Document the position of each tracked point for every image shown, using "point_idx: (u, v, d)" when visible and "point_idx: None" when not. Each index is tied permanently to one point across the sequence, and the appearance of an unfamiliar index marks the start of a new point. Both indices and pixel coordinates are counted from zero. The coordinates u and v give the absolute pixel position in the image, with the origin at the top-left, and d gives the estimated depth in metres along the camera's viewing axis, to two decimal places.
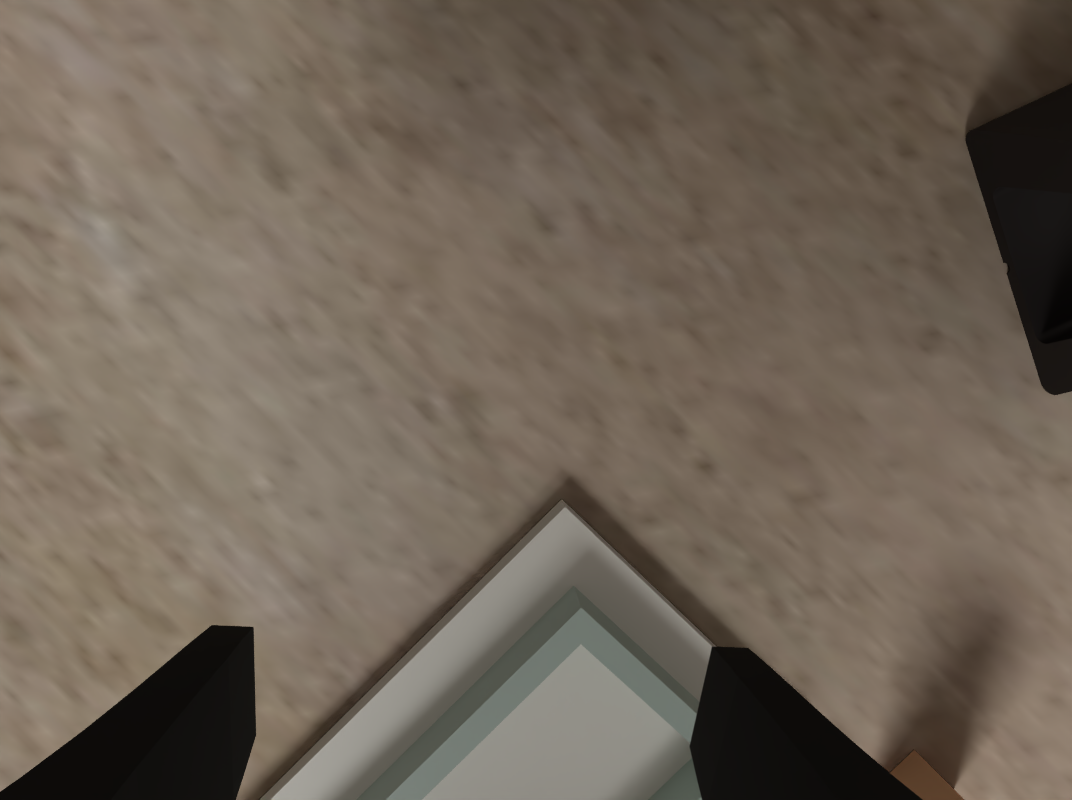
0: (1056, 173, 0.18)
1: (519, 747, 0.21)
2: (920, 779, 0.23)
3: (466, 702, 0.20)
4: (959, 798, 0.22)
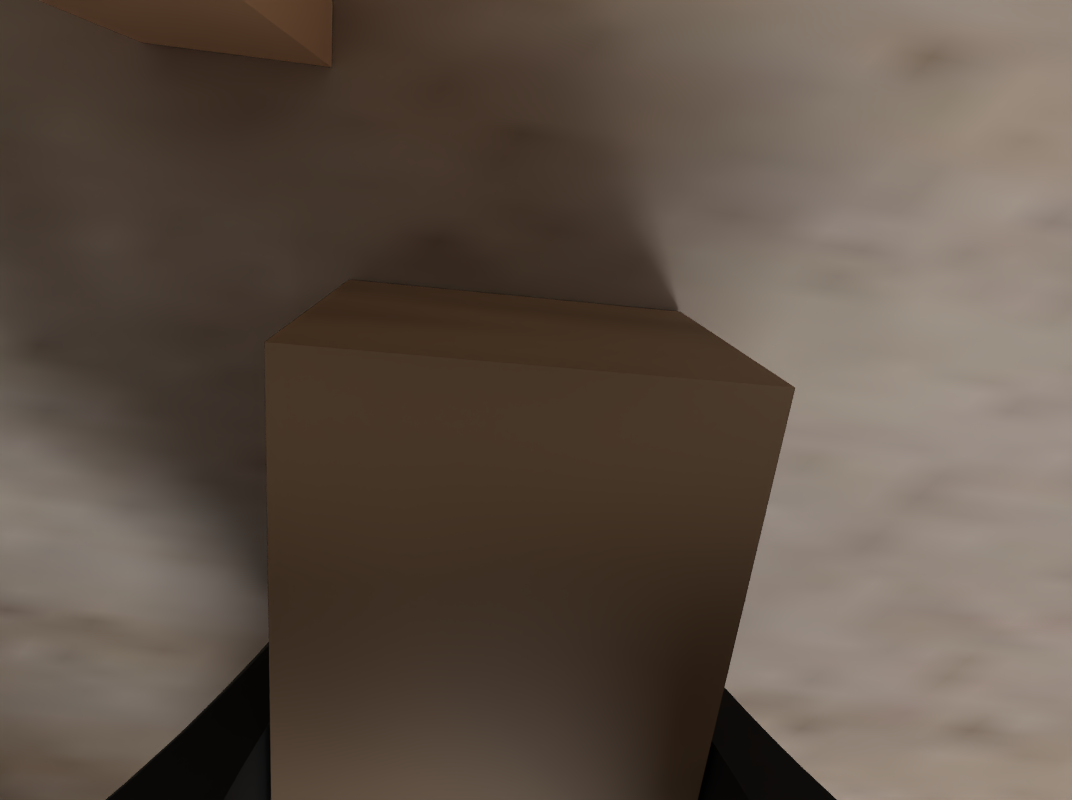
0: None
1: None
2: None
3: None
4: None
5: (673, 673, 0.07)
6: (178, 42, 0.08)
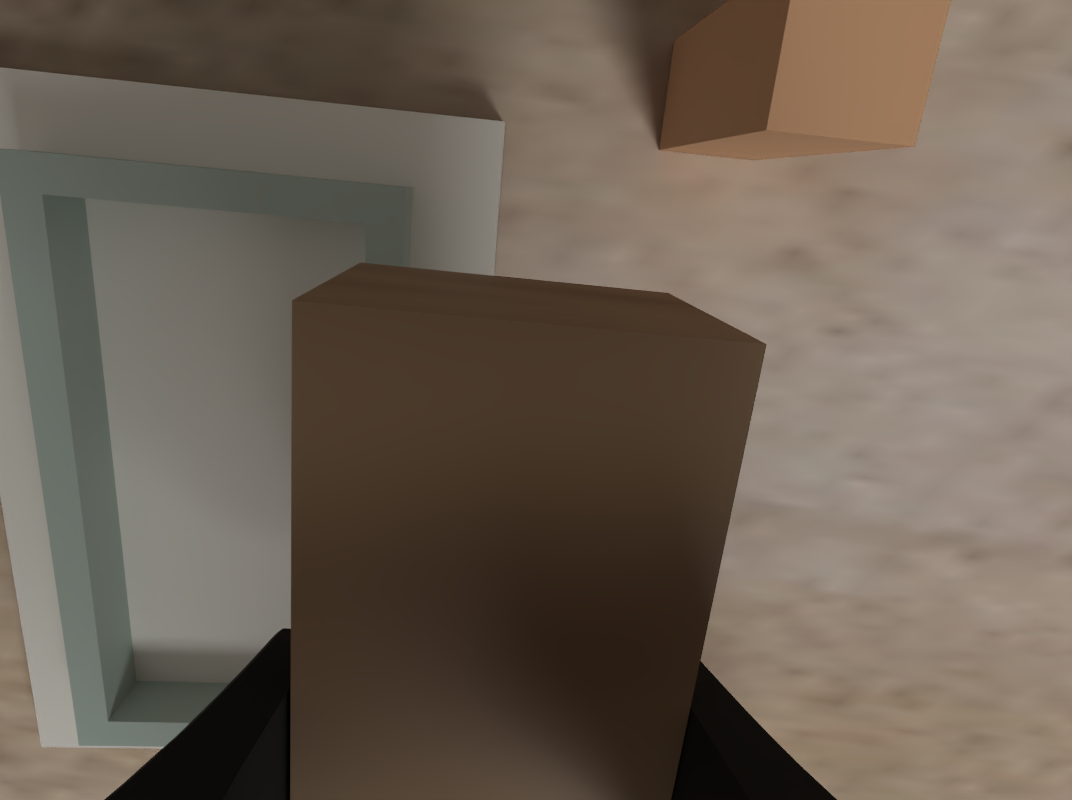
0: None
1: (183, 382, 0.16)
2: (682, 59, 0.15)
3: None
4: (704, 20, 0.13)
5: (660, 613, 0.08)
6: (689, 151, 0.16)
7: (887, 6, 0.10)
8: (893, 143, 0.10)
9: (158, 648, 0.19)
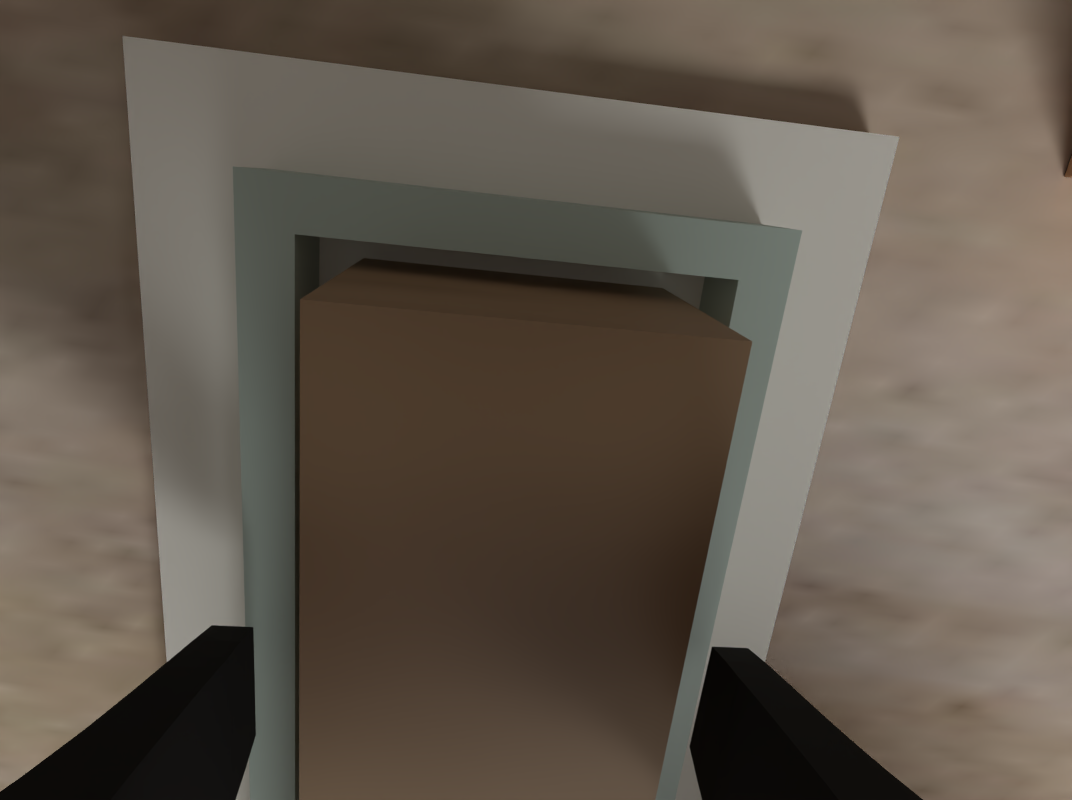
0: None
1: None
2: None
3: None
4: None
5: (651, 595, 0.09)
6: None
7: None
8: None
9: None
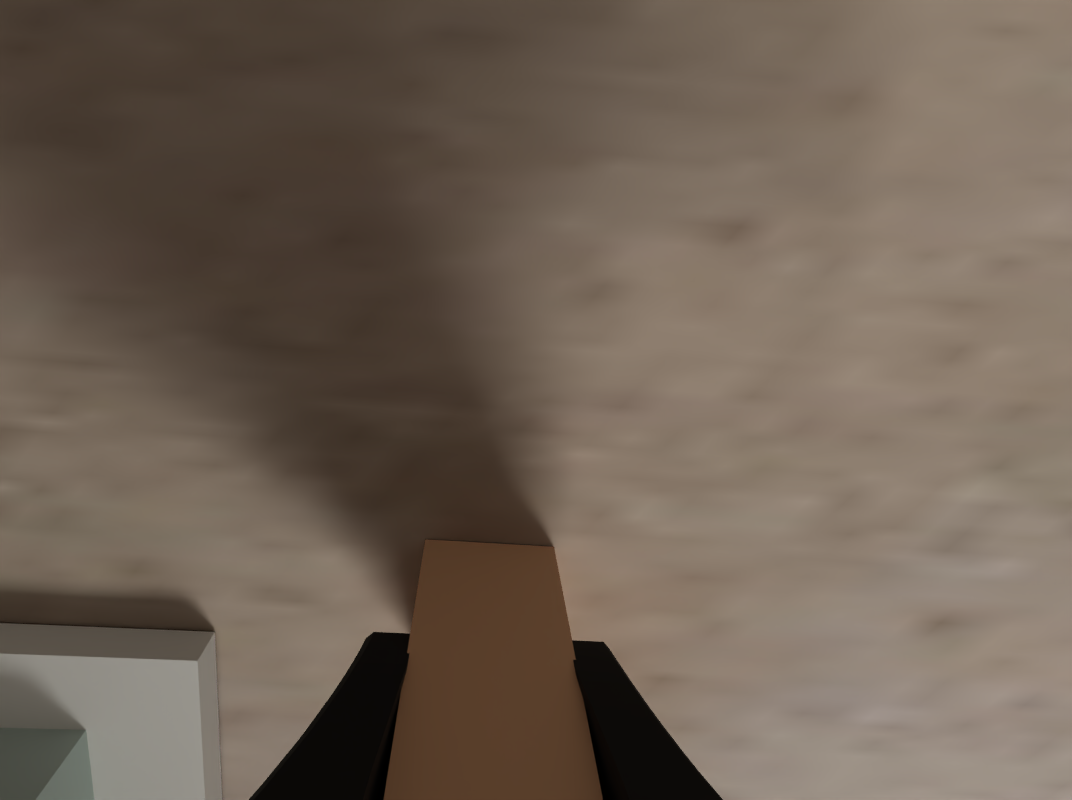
0: None
1: None
2: None
3: None
4: (412, 619, 0.10)
5: None
6: None
7: None
8: None
9: None
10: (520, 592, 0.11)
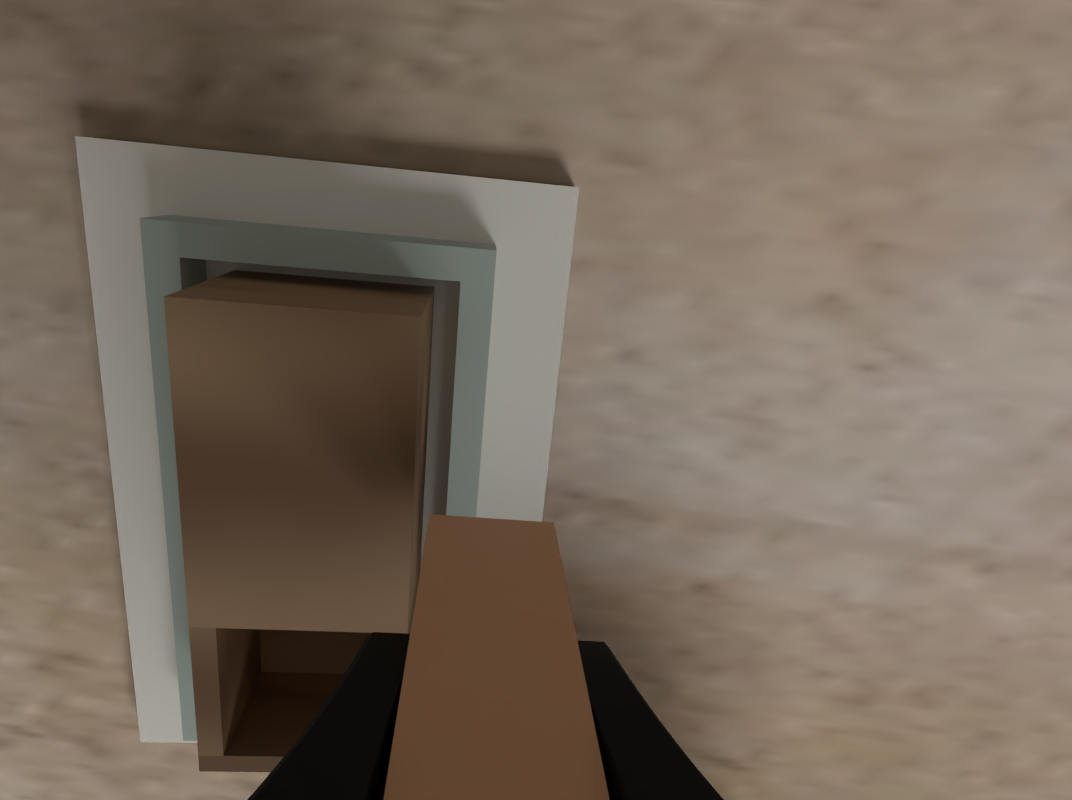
0: None
1: None
2: None
3: None
4: None
5: (386, 468, 0.15)
6: None
7: None
8: None
9: None
10: (521, 563, 0.11)
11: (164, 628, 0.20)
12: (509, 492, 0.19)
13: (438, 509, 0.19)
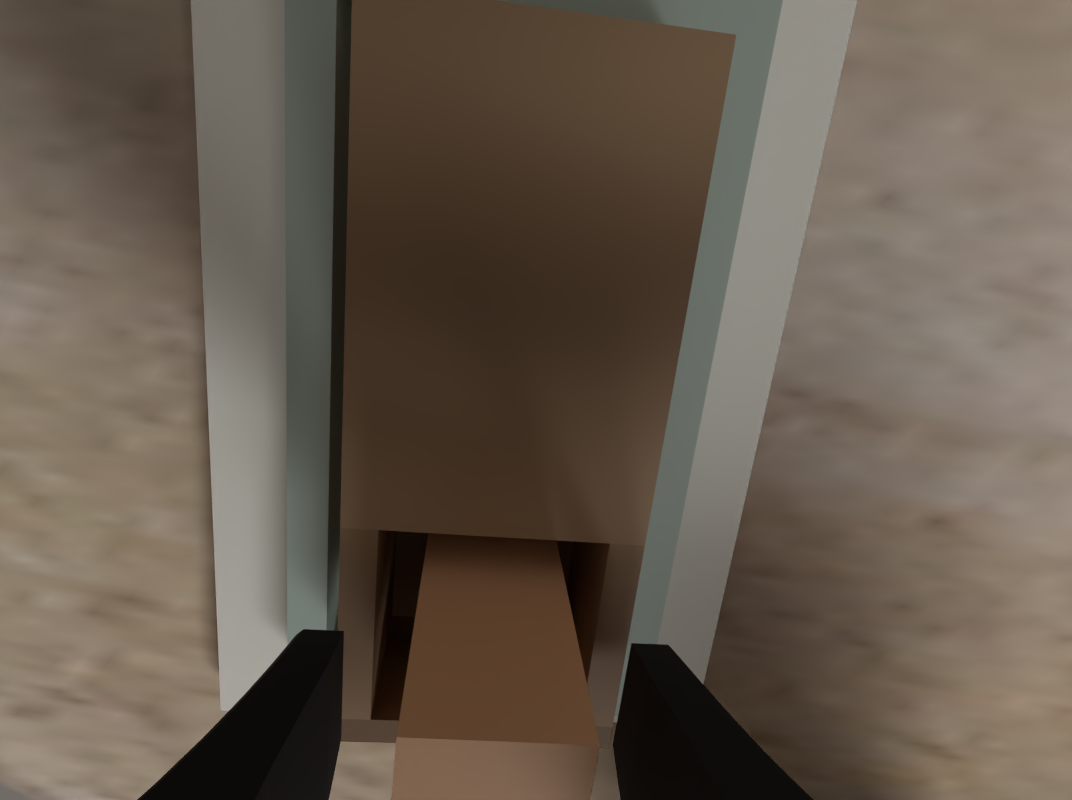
0: None
1: None
2: None
3: None
4: (425, 553, 0.12)
5: (650, 286, 0.10)
6: None
7: (516, 781, 0.08)
8: None
9: None
10: None
11: (261, 558, 0.15)
12: (725, 380, 0.15)
13: None
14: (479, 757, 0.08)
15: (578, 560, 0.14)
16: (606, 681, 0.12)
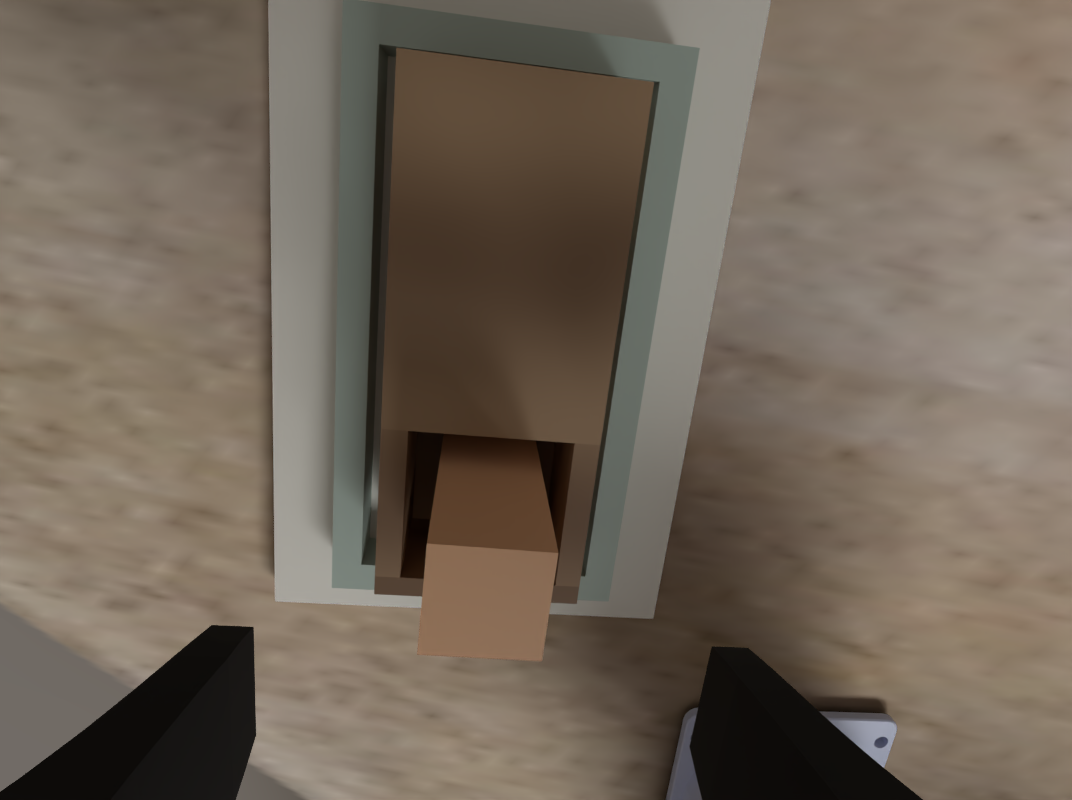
0: None
1: None
2: None
3: None
4: (440, 455, 0.16)
5: (599, 254, 0.14)
6: None
7: (504, 577, 0.12)
8: (524, 659, 0.13)
9: None
10: (509, 447, 0.17)
11: (310, 475, 0.19)
12: (670, 335, 0.19)
13: None
14: (480, 559, 0.12)
15: (555, 471, 0.18)
16: (574, 550, 0.16)
